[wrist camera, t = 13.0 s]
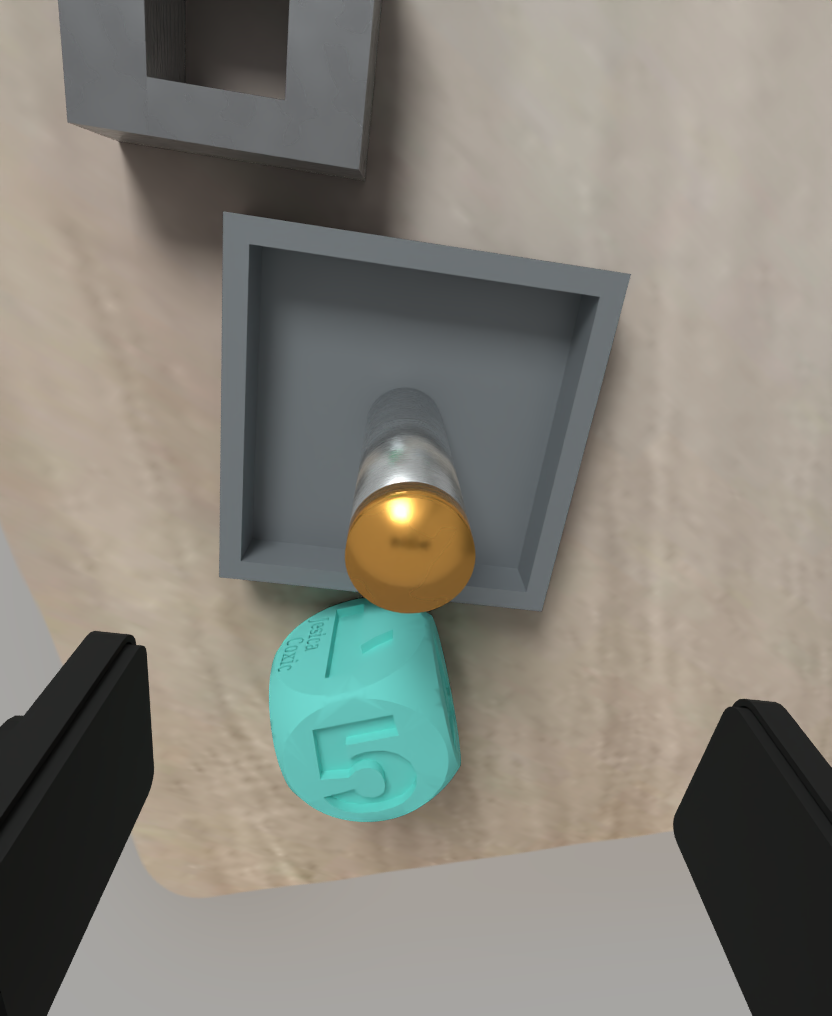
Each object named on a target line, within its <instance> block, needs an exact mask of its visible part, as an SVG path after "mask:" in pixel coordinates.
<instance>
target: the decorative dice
mask: <svg viewBox="0 0 832 1016" xmlns="http://www.w3.org/2000/svg"><path fill="white" fill-rule="evenodd" d="M269 710H270V722H271V730H272V737H273V742H274V747H275V752H276V756H277V759H278V763H279V766H280V769H281V771H282V774H283V776H284V779H285V781H286V783H287V784H288V786H289V787H290V789H291V790H292V791H293V792H294V793H295V794H296V795H297V796H299V797H300V798H301V799H302V800H303V801H305V802H306V803H307V804H309V805H310V806H311V807H313V808H315V809H316V810H318V811H320V812H322V813H325V814H327V815H330V816H332V817H336V818H339V819H343V820H349V821H358V822H375V821H384V820H389V819H393V818H397V817H400V816H403V815H405V814H408V813H410V812H412V811H414V810H416V809H418V808H419V807H421V806H422V805H424V804H425V803H427V802H428V801H430V800H431V799H432V798H434V797H435V796H436V795H437V794H438V793H439V792H440V791H441V790H442V789H443V788H444V787H445V786H446V785H447V784H448V783H449V782H450V781H451V779H452V778H453V776H454V775H455V774H456V772H457V771H458V769H459V768H460V766H461V754H460V744H459V736H458V729H457V722H456V716H455V710H454V704H453V699H452V693H451V688H450V683H449V678H448V673H447V668H446V664H445V659H444V655H443V651H442V646H441V642H440V639H439V635H438V631H437V628H436V625H435V622H434V619H433V617H432V615H430V614H429V613H427V612H421V613H398V612H392V611H389V610H385V609H383V608H381V607H378V606H376V605H375V604H373V603H371V602H370V601H368V600H367V599H366V598H360V599H355V600H350V601H347V602H343V603H340V604H337V605H334V606H332V607H329V608H327V609H325V610H323V611H321V612H319V613H317V614H315V615H313V616H312V617H310V618H309V619H307V620H305V621H304V622H303V623H301V624H300V625H299V626H298V627H297V628H295V629H294V630H293V631H292V632H291V633H290V634H289V635H288V637H287V638H286V639H285V640H284V642H283V643H282V645H281V646H280V648H279V649H278V651H277V653H276V655H275V657H274V660H273V664H272V668H271V675H270V685H269Z"/></svg>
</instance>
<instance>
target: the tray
mask: <svg viewBox="0 0 832 1016" xmlns="http://www.w3.org/2000/svg"><path fill="white" fill-rule="evenodd" d="M630 275H631V274H626V273H620V272H613V271H607V270H600V269H594V268H588V267H581V266H575V265H568V264H562V263H555V262H549V261H542V260H536V259H529V258H523V257H516V256H510V255H503V254H497V253H490V252H484V251H477V250H471V249H464V248H458V247H451V246H445V245H438V244H432V243H425V242H419V241H412V240H406V239H399V238H393V237H386V236H380V235H374V234H367V233H361V232H354V231H348V230H341V229H335V228H328V227H322V226H315V225H309V224H302V223H296V222H289V221H283V220H276V219H270V218H263V217H257V216H250V215H244V214H237V213H231V212H224V211H223V274H222V369H221V463H220V557H219V577H223V578H233V579H242V580H252V581H261V582H270V583H280V584H289V585H298V586H308V587H317V588H327V589H336V590H345V591H355V592H358V590H357V589H356V588H355V587H354V585H353V584H352V582H351V580H350V578H349V576H348V573H347V569H346V565H345V548H346V542H347V536H348V530H349V524H350V519H351V513H352V507H353V501H354V495H355V489H356V483H357V477H358V471H359V465H360V459H361V453H362V447H363V442H364V436H365V430H366V424H367V418H368V414H369V411H370V409H371V407H372V405H373V403H374V402H375V401H376V400H377V399H378V398H379V397H380V396H381V395H382V394H384V393H386V392H388V391H390V390H392V389H396V388H404V387H406V388H413V389H417V390H420V391H422V392H424V393H425V394H427V395H428V396H429V397H430V398H432V399H433V401H434V402H435V403H436V405H437V406H438V408H439V410H440V413H441V416H442V420H443V424H444V428H445V432H446V436H447V440H448V443H449V447H450V451H451V455H452V459H453V463H454V467H455V471H456V475H457V478H458V482H459V486H460V490H461V494H462V498H463V502H464V506H465V510H466V513H467V517H468V521H469V525H470V529H471V533H472V537H473V541H474V545H475V566H474V569H473V573H472V575H471V577H470V579H469V581H468V583H467V584H466V586H465V587H464V588H463V590H462V591H461V592H460V593H459V594H458V595H457V596H456V597H455V598H453V599H452V600H451V601H449V602H458V603H467V604H477V605H486V606H495V607H505V608H514V609H523V610H533V611H542V608H543V604H544V601H545V597H546V593H547V589H548V585H549V582H550V578H551V574H552V570H553V567H554V563H555V559H556V555H557V551H558V548H559V544H560V540H561V536H562V532H563V529H564V525H565V521H566V517H567V514H568V510H569V506H570V502H571V498H572V495H573V491H574V487H575V483H576V480H577V476H578V472H579V468H580V464H581V461H582V457H583V453H584V449H585V446H586V442H587V438H588V434H589V430H590V427H591V423H592V419H593V415H594V411H595V408H596V404H597V400H598V396H599V393H600V389H601V385H602V381H603V377H604V374H605V370H606V366H607V362H608V359H609V355H610V351H611V347H612V343H613V340H614V336H615V332H616V328H617V324H618V321H619V317H620V313H621V309H622V306H623V302H624V298H625V294H626V290H627V287H628V283H629V279H630Z"/></svg>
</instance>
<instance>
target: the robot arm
mask: <svg viewBox="0 0 832 1016" xmlns="http://www.w3.org/2000/svg"><path fill="white" fill-rule="evenodd" d="M153 775H154V761H153V745H152V729H151V713H150V697H149V681H148V665H147V652H146V648H145V646H141V645H136V641H135V638H134V636H132V635H129V634H119V633H110V632H100V631H93V632H90V633H89V634H88V635H87V636H86V637H85V639H84V640H83V641H82V643H81V644H80V645H79V646H78V648H77V649H76V650H75V651H74V653H73V654H72V655H71V657H70V658H69V659H68V660H67V662H66V663H65V664H64V665H63V667H62V668H61V669H60V671H59V672H58V673H57V674H56V676H55V677H54V678H53V679H52V681H51V682H50V683H49V685H48V686H47V687H46V688H45V690H44V691H43V692H42V694H41V695H40V696H39V697H38V698H37V700H36V701H35V702H34V703H33V705H32V706H31V707H30V709H29V710H28V711H27V712H26V714H25V715H24V716H14V717H12V718H10V719H8V720H7V721H6V722H5V723H4V724H3V725H2V726H1V727H0V1016H47V1014H48V1012H49V1010H50V1007H51V1005H52V1003H53V1001H54V998H55V996H56V994H57V992H58V990H59V988H60V986H61V983H62V981H63V979H64V977H65V975H66V972H67V970H68V968H69V966H70V964H71V962H72V959H73V957H74V955H75V953H76V950H77V949H78V946H79V944H80V942H81V940H82V937H83V935H84V933H85V931H86V929H87V927H88V924H89V922H90V920H91V918H92V916H93V914H94V911H95V909H96V907H97V905H98V903H99V901H100V898H101V896H102V894H103V892H104V890H105V888H106V885H107V883H108V881H109V879H110V877H111V874H112V872H113V870H114V868H115V866H116V863H117V861H118V859H119V857H120V855H121V853H122V850H123V848H124V846H125V844H126V842H127V840H128V837H129V835H130V833H131V831H132V829H133V827H134V824H135V822H136V820H137V818H138V816H139V814H140V811H141V809H142V807H143V805H144V803H145V801H146V798H147V796H148V794H149V791H150V788H151V785H152V781H153ZM673 829H674V835H675V838H676V841H677V844H678V846H679V848H680V851H681V853H682V855H683V858H684V860H685V862H686V864H687V867H688V869H689V871H690V874H691V876H692V878H693V881H694V883H695V885H696V887H697V890H698V892H699V894H700V897H701V899H702V901H703V903H704V906H705V908H706V910H707V913H708V915H709V917H710V920H711V922H712V924H713V926H714V929H715V931H716V933H717V936H718V938H719V940H720V942H721V945H722V947H723V949H724V952H725V954H726V956H727V958H728V961H729V963H730V965H731V968H732V970H733V972H734V974H735V977H736V979H737V981H738V984H739V986H740V988H741V991H742V993H743V995H744V997H745V1000H746V1002H747V1004H748V1007H749V1009H750V1011H751V1013H752V1016H832V768H831V766H830V765H829V764H828V762H827V761H826V760H825V759H824V757H823V756H822V755H821V753H820V752H819V751H818V750H817V748H816V747H815V746H814V745H813V743H812V742H811V741H810V739H809V738H808V737H807V736H806V734H805V733H804V732H803V730H802V729H801V728H800V727H799V725H798V724H797V723H796V722H795V720H794V719H793V718H792V716H791V715H790V714H789V713H788V711H787V710H786V709H785V708H784V707H783V706H782V705H781V704H779V703H776V702H769V701H760V700H750V699H739V700H738V701H736V702H735V703H734V705H733V706H732V707H728V708H726V709H725V711H724V712H723V714H722V716H721V718H720V721H719V723H718V725H717V727H716V729H715V731H714V733H713V735H712V737H711V740H710V742H709V744H708V746H707V748H706V750H705V752H704V754H703V756H702V759H701V761H700V763H699V765H698V767H697V769H696V771H695V773H694V776H693V778H692V780H691V782H690V784H689V786H688V788H687V790H686V792H685V795H684V797H683V799H682V801H681V803H680V805H679V807H678V809H677V811H676V814H675V816H674V821H673Z"/></svg>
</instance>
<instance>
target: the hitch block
mask: <svg viewBox="0 0 832 1016" xmlns="http://www.w3.org/2000/svg"><path fill="white" fill-rule="evenodd" d="M381 5H382V0H289V23H288V45H287V68H286V90H285V100H280V99H274V98H268V97H262V96H257V95H251V94H245V93H239V92H233V91H227V90H221V89H215V88H210V87H204V86H198V85H192V84H186V76H185V0H58V6H59V19H60V32H61V44H62V57H63V70H64V83H65V95H66V108H67V121H68V123H71V124H73V125H76V126H79V127H81V128H84V129H87V130H89V131H92V132H95V133H97V134H100V135H103V136H105V137H108V138H111V139H113V140H116V141H120V142H126V143H132V144H138V145H145V146H151V147H157V148H163V149H169V150H176V151H182V152H188V153H194V154H200V155H207V156H213V157H219V158H225V159H232V160H238V161H244V162H250V163H256V164H263V165H269V166H275V167H281V168H287V169H294V170H300V171H306V172H312V173H318V174H325V175H331V176H337V177H343V178H349V179H356V180H362V181H365V176H366V165H367V154H368V144H369V133H370V122H371V112H372V101H373V90H374V80H375V69H376V58H377V48H378V37H379V26H380V16H381Z"/></svg>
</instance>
